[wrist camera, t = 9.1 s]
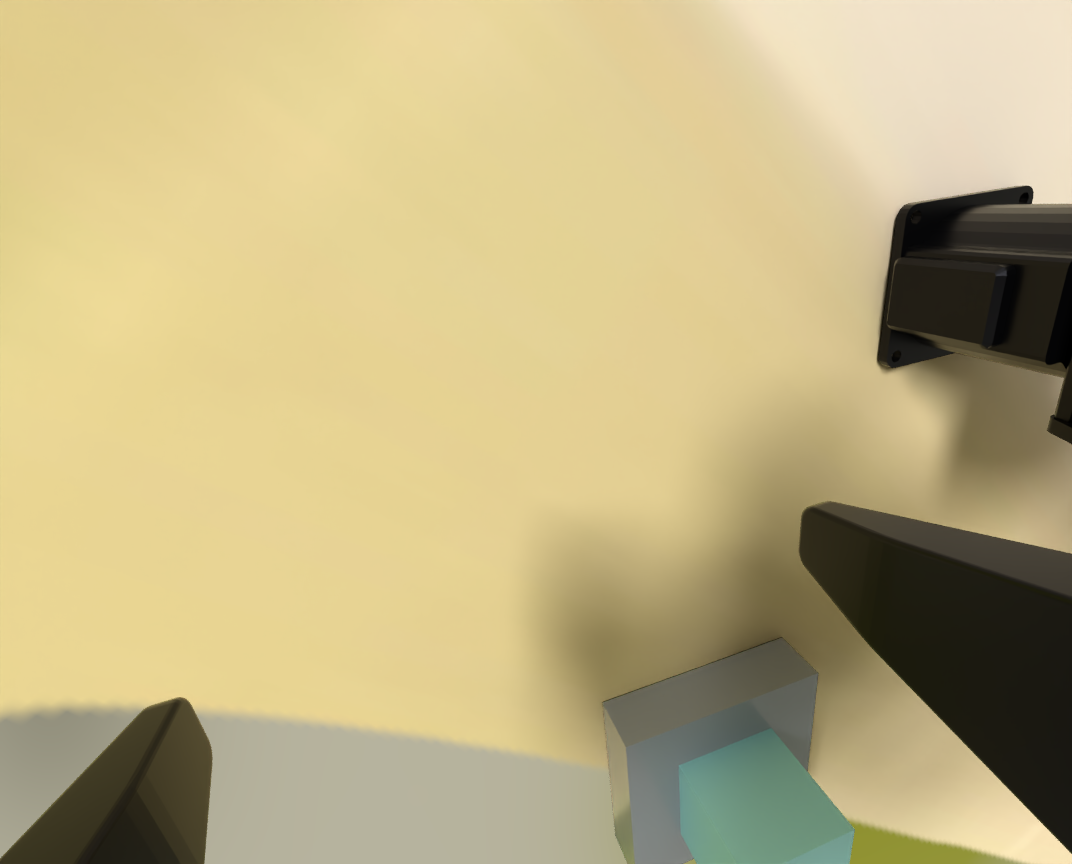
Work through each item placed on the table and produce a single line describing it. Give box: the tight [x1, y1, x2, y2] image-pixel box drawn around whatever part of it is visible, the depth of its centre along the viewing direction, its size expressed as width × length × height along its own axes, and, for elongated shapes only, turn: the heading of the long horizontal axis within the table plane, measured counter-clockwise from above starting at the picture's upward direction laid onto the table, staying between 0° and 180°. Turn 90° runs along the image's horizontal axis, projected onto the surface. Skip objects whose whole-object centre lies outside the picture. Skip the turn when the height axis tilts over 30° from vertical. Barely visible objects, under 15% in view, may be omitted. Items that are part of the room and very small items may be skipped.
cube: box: [679, 728, 855, 864], centre depth 25 cm, size 5×5×5 cm
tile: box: [603, 638, 818, 864], centre depth 29 cm, size 10×10×2 cm
